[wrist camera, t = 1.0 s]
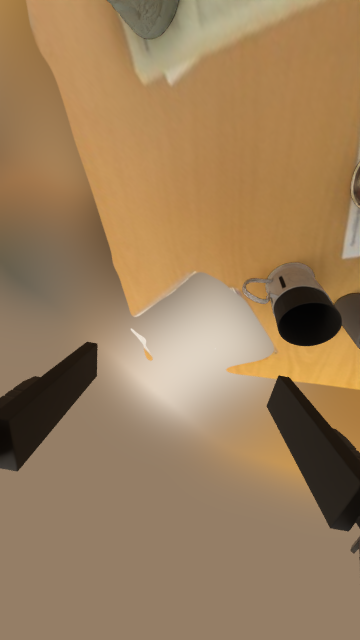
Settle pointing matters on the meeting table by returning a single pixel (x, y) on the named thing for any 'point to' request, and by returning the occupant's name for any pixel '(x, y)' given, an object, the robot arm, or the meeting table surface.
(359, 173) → the coffee can
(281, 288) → the glass holder
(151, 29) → the grey cup
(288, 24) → the meeting table surface
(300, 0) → the meeting table surface
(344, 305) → the bottle
